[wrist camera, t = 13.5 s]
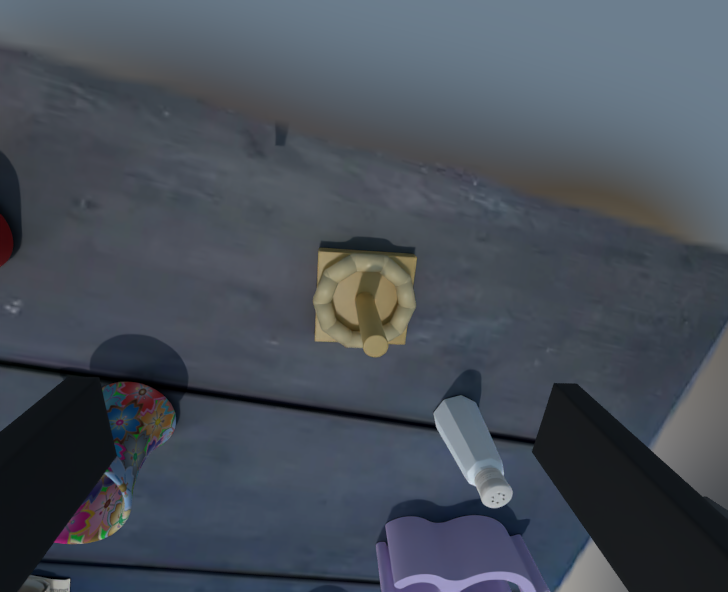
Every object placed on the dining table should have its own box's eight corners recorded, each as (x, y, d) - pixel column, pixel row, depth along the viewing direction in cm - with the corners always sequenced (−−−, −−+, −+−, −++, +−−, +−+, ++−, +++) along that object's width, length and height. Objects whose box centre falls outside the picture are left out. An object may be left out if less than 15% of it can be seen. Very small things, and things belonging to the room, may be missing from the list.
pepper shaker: (447, 440, 41) (486, 529, 31) (423, 411, 40) (456, 496, 29) (486, 416, 41) (538, 499, 30) (463, 385, 39) (511, 463, 29)
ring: (315, 248, 31) (314, 252, 29) (420, 255, 32) (425, 259, 30) (311, 341, 34) (310, 349, 32) (407, 344, 35) (411, 352, 33)
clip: (365, 565, 48) (371, 627, 41) (397, 500, 44) (408, 558, 38) (492, 582, 52) (515, 641, 45) (530, 524, 48) (562, 579, 41)
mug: (187, 381, 36) (131, 463, 26) (180, 451, 39) (127, 549, 29) (57, 361, 34) (-58, 442, 24) (61, 437, 37) (-41, 537, 27)
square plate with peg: (318, 247, 32) (313, 282, 22) (413, 253, 33) (448, 289, 23) (315, 334, 35) (308, 399, 25) (402, 337, 36) (428, 401, 26)
